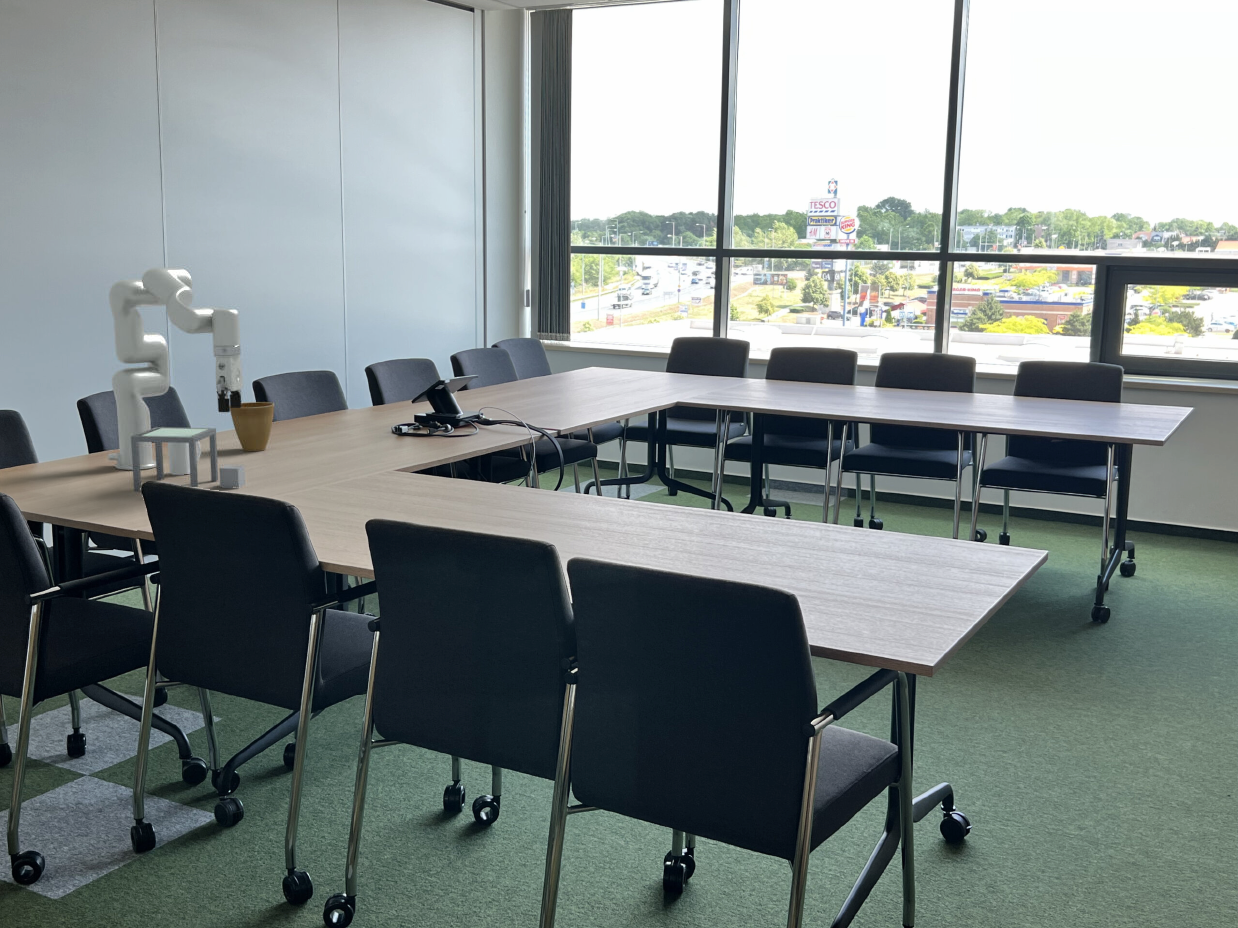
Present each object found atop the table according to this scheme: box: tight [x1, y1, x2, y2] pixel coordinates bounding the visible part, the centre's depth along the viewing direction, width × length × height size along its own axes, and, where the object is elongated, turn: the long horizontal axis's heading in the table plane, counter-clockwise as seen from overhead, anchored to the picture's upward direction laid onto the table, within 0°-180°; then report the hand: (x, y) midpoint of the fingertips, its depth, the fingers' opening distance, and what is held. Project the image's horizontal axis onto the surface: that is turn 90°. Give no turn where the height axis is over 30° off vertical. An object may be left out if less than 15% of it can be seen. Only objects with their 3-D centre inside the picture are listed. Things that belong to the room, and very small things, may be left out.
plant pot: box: [230, 401, 275, 452], centre depth 399 cm, size 15×15×16 cm
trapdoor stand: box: [131, 426, 219, 492], centre depth 338 cm, size 18×18×16 cm
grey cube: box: [218, 464, 246, 489], centre depth 340 cm, size 6×6×6 cm
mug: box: [167, 441, 202, 476], centre depth 357 cm, size 10×7×12 cm, turn 131°
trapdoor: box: [142, 427, 208, 437], centre depth 337 cm, size 14×14×1 cm
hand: (230, 409), depth 336 cm, fingers open, 9 cm apart
